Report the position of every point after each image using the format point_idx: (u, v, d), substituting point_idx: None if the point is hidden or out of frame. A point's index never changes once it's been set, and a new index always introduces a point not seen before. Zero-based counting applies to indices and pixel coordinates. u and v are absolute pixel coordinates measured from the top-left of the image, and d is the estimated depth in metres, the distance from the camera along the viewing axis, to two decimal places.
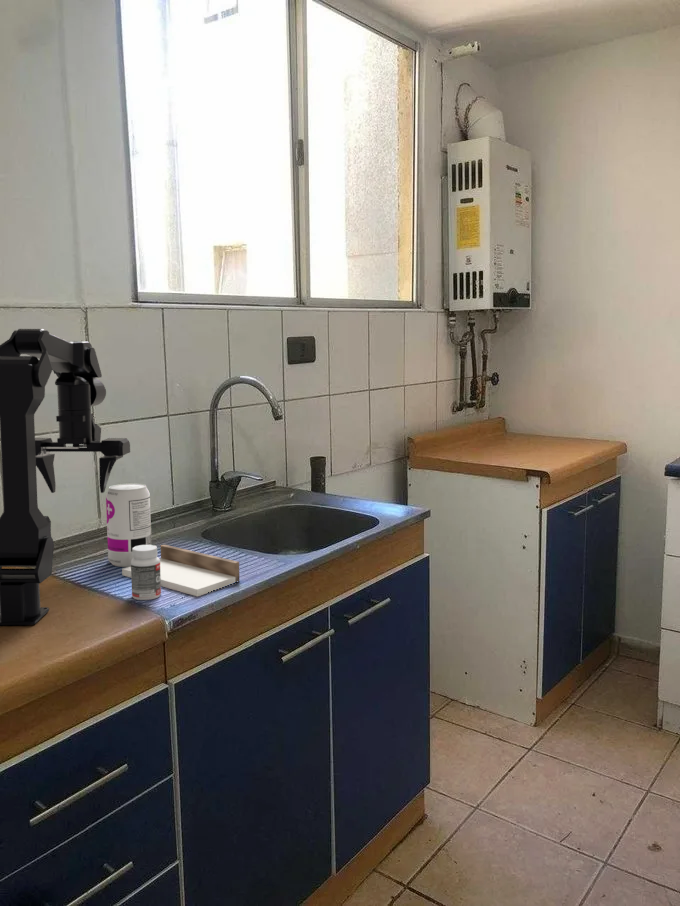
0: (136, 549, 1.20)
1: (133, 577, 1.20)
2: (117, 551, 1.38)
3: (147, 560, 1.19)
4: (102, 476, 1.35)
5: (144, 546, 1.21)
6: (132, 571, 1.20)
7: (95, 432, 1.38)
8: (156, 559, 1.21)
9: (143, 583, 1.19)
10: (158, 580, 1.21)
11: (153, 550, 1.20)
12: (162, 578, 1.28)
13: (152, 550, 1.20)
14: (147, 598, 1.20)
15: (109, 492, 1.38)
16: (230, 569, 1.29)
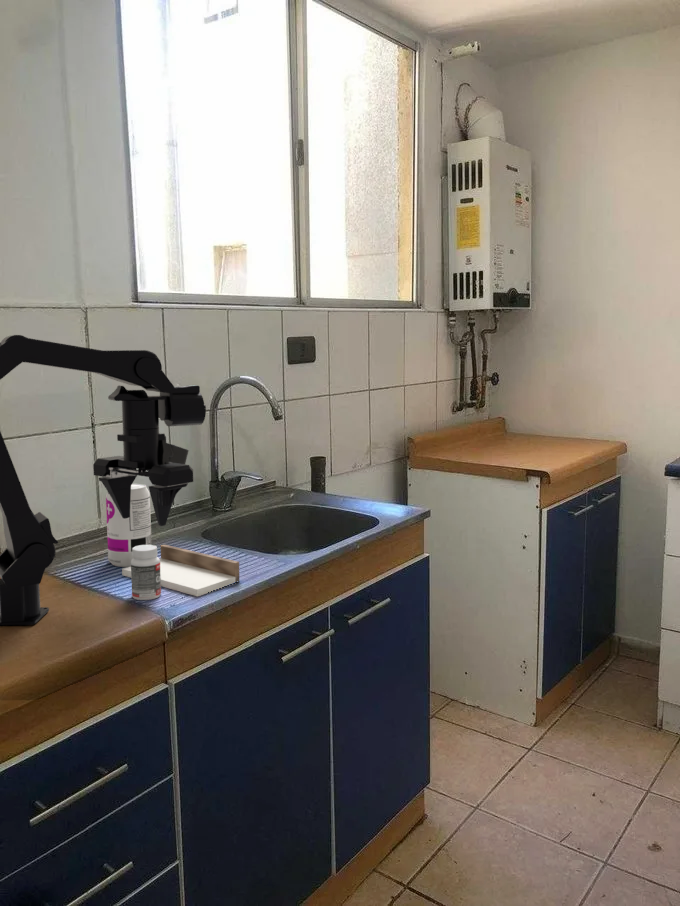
0: (136, 549, 1.20)
1: (133, 577, 1.20)
2: (117, 551, 1.38)
3: (147, 560, 1.19)
4: (156, 507, 1.16)
5: (144, 546, 1.21)
6: (132, 571, 1.20)
7: (166, 455, 1.19)
8: (156, 559, 1.21)
9: (143, 583, 1.19)
10: (158, 580, 1.21)
11: (153, 550, 1.20)
12: (162, 578, 1.28)
13: (152, 550, 1.20)
14: (147, 598, 1.20)
15: None
16: (230, 569, 1.29)
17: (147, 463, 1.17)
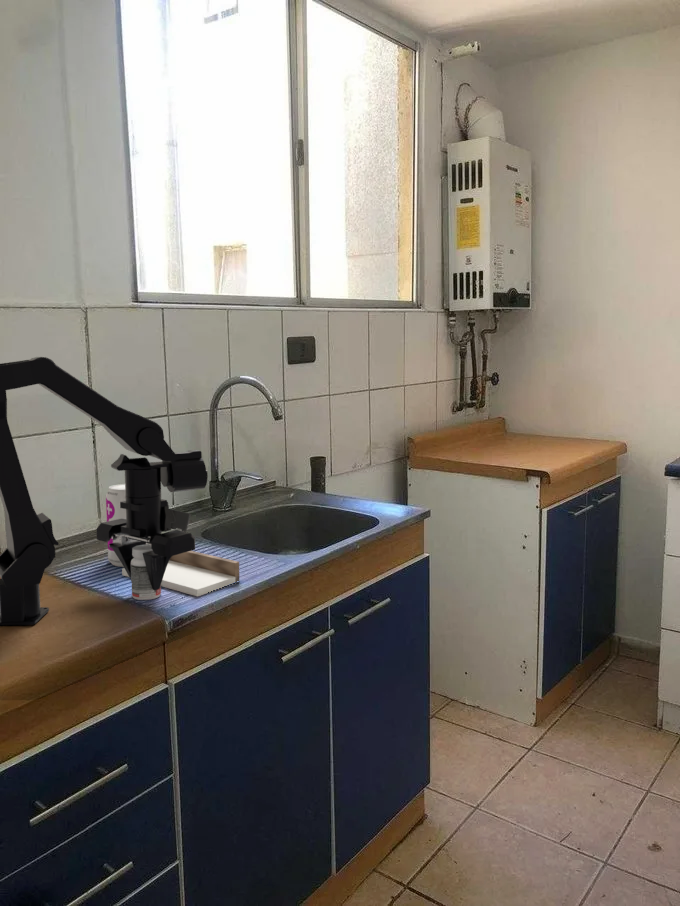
0: (136, 549, 1.20)
1: (133, 577, 1.20)
2: None
3: None
4: (150, 572, 1.18)
5: (144, 546, 1.21)
6: (132, 571, 1.20)
7: (168, 521, 1.21)
8: None
9: (143, 583, 1.19)
10: None
11: None
12: None
13: None
14: (147, 598, 1.20)
15: (109, 492, 1.38)
16: (230, 569, 1.29)
17: (149, 531, 1.18)
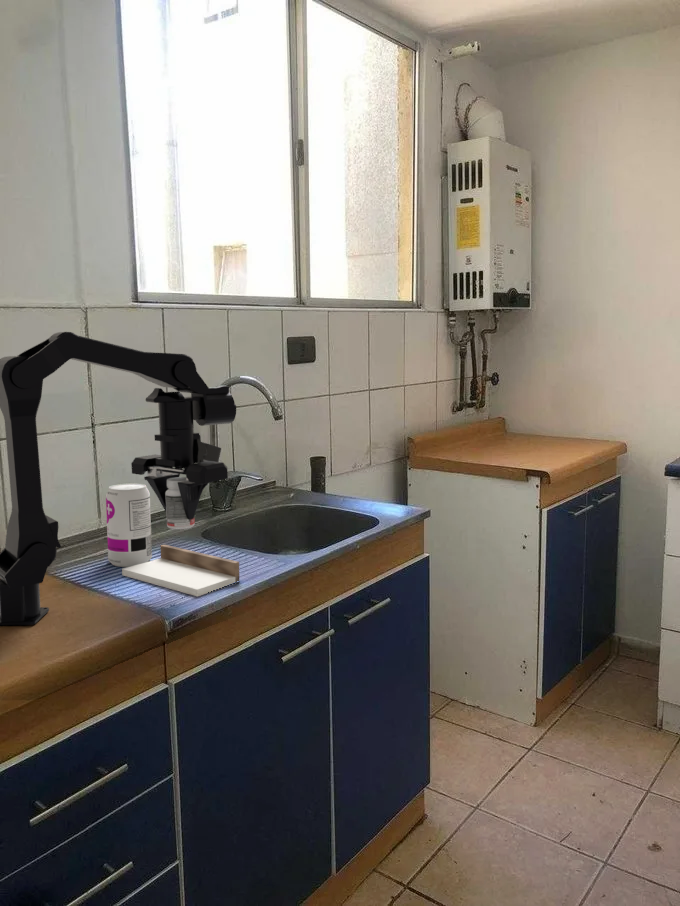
0: (170, 480, 1.24)
1: (168, 507, 1.24)
2: (117, 551, 1.38)
3: None
4: (185, 501, 1.23)
5: (178, 478, 1.26)
6: (167, 501, 1.24)
7: (201, 453, 1.25)
8: None
9: (178, 512, 1.24)
10: None
11: None
12: (162, 578, 1.28)
13: None
14: (182, 527, 1.24)
15: (109, 492, 1.38)
16: (230, 569, 1.29)
17: (183, 461, 1.23)
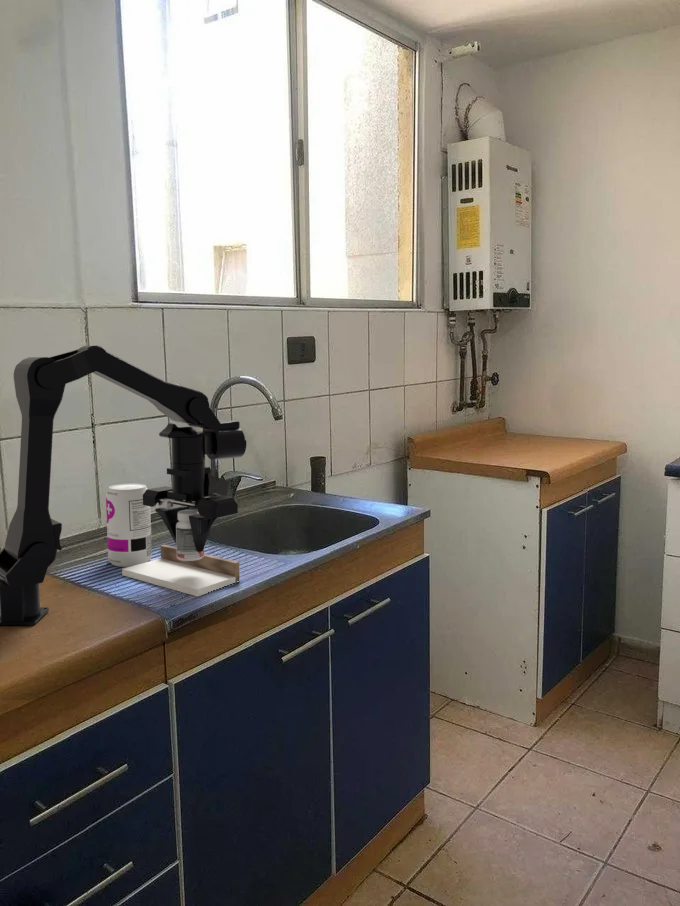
0: (181, 513, 1.27)
1: (178, 539, 1.27)
2: (117, 551, 1.38)
3: None
4: (195, 534, 1.25)
5: (189, 511, 1.29)
6: (177, 533, 1.27)
7: (211, 487, 1.28)
8: None
9: (188, 544, 1.27)
10: None
11: None
12: (162, 578, 1.28)
13: None
14: (192, 559, 1.27)
15: (109, 492, 1.38)
16: (230, 569, 1.29)
17: (195, 495, 1.25)
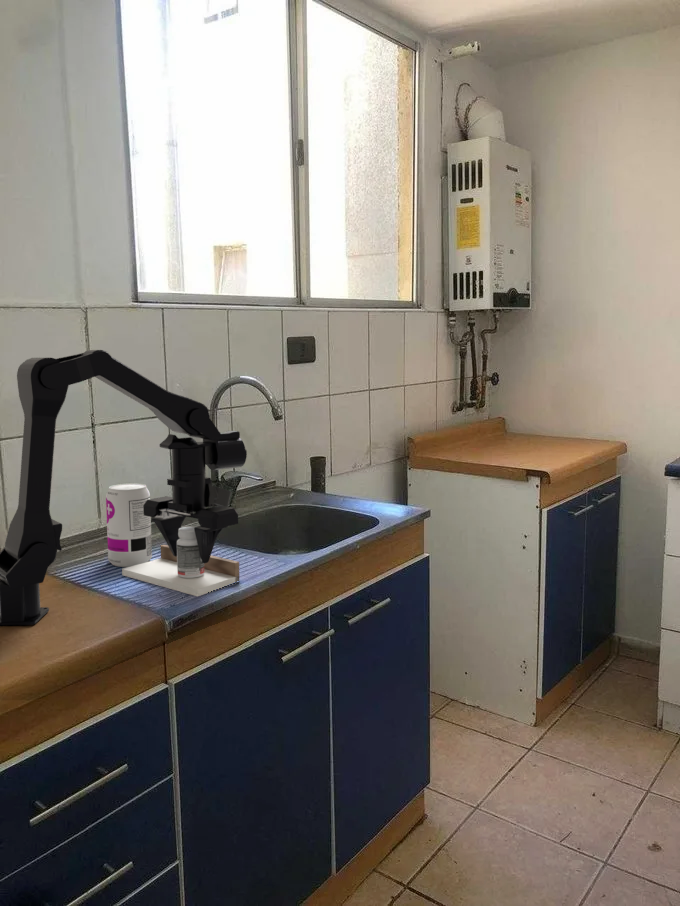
0: (182, 530, 1.28)
1: (179, 556, 1.28)
2: (117, 551, 1.38)
3: (192, 540, 1.27)
4: (200, 546, 1.25)
5: (189, 528, 1.29)
6: (178, 550, 1.28)
7: (212, 498, 1.28)
8: None
9: (189, 561, 1.27)
10: None
11: None
12: (162, 578, 1.28)
13: None
14: (192, 576, 1.27)
15: (109, 492, 1.38)
16: (230, 569, 1.29)
17: (195, 506, 1.26)
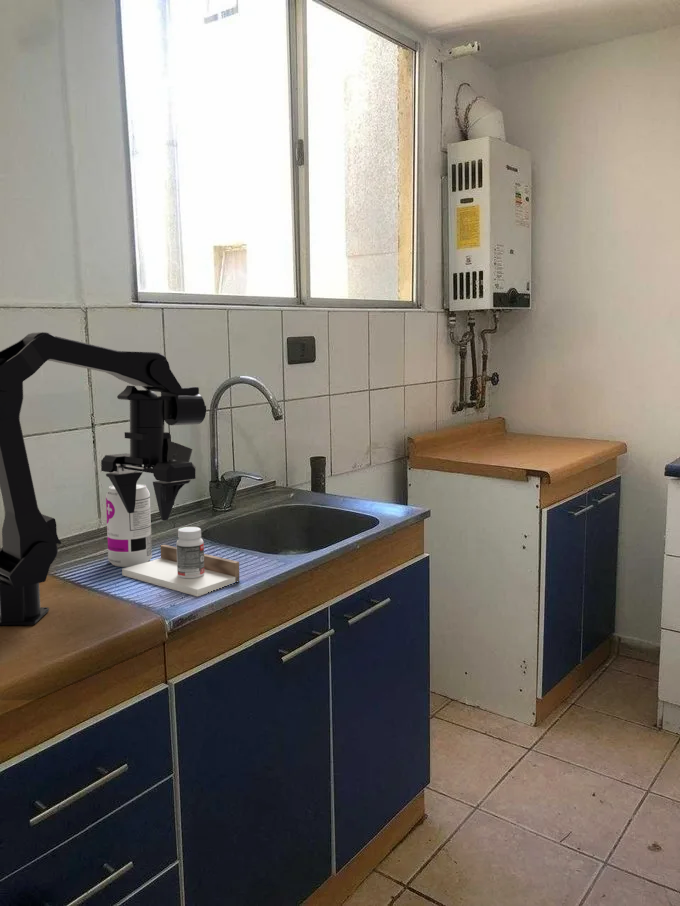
0: (182, 530, 1.28)
1: (179, 557, 1.27)
2: (117, 551, 1.38)
3: (192, 541, 1.27)
4: (159, 502, 1.21)
5: (189, 528, 1.29)
6: (178, 551, 1.28)
7: (171, 453, 1.25)
8: (200, 540, 1.28)
9: (189, 562, 1.27)
10: (202, 560, 1.29)
11: (198, 531, 1.28)
12: (162, 578, 1.28)
13: (197, 531, 1.28)
14: (192, 576, 1.27)
15: (109, 492, 1.38)
16: (230, 569, 1.29)
17: (152, 460, 1.22)
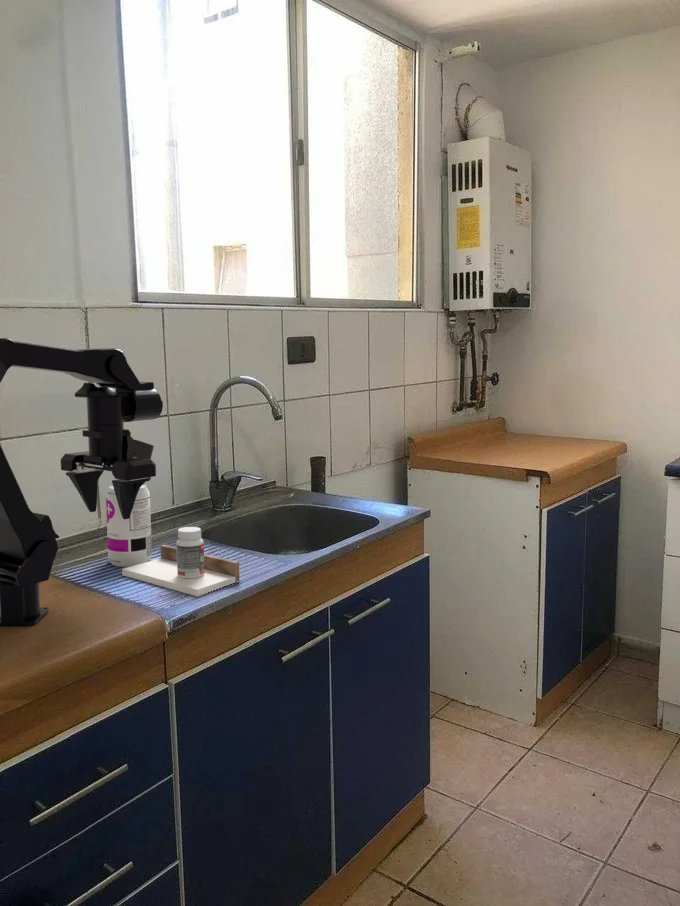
0: (182, 530, 1.28)
1: (179, 557, 1.27)
2: (117, 551, 1.38)
3: (192, 541, 1.27)
4: (119, 500, 1.19)
5: (189, 528, 1.29)
6: (178, 551, 1.28)
7: (130, 450, 1.23)
8: (200, 540, 1.28)
9: (189, 562, 1.27)
10: (202, 560, 1.29)
11: (198, 531, 1.28)
12: (162, 578, 1.28)
13: (197, 531, 1.28)
14: (192, 576, 1.27)
15: (109, 492, 1.38)
16: (230, 569, 1.29)
17: (111, 458, 1.20)
